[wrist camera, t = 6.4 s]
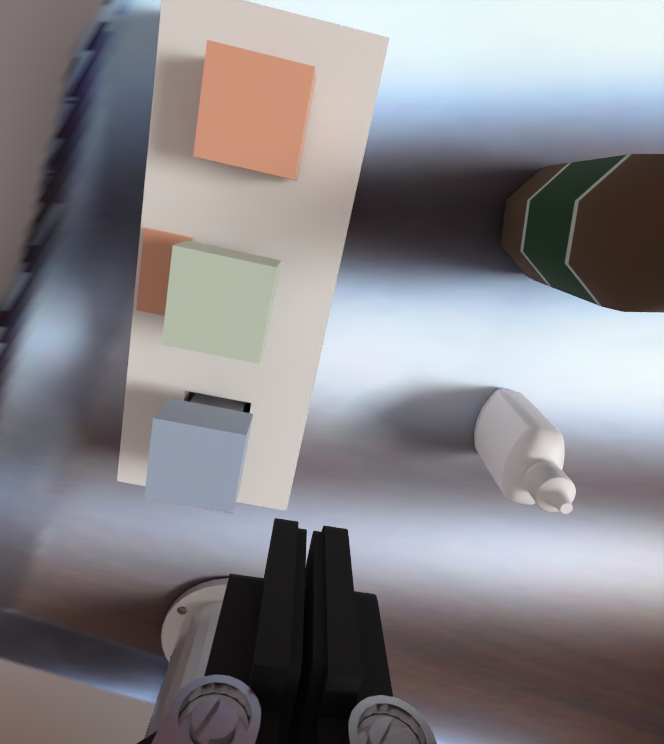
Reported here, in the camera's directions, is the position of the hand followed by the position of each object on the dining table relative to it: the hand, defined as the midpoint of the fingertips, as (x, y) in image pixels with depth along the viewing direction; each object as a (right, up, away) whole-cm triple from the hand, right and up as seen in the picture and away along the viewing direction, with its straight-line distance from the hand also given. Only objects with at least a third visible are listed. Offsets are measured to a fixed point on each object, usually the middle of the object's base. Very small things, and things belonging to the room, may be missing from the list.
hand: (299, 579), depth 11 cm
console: (-5, +11, +25) cm, 28 cm away
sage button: (-5, +11, +22) cm, 25 cm away
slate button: (-7, +2, +25) cm, 26 cm away
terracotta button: (-3, +20, +21) cm, 29 cm away
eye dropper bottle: (+14, +1, +29) cm, 32 cm away
